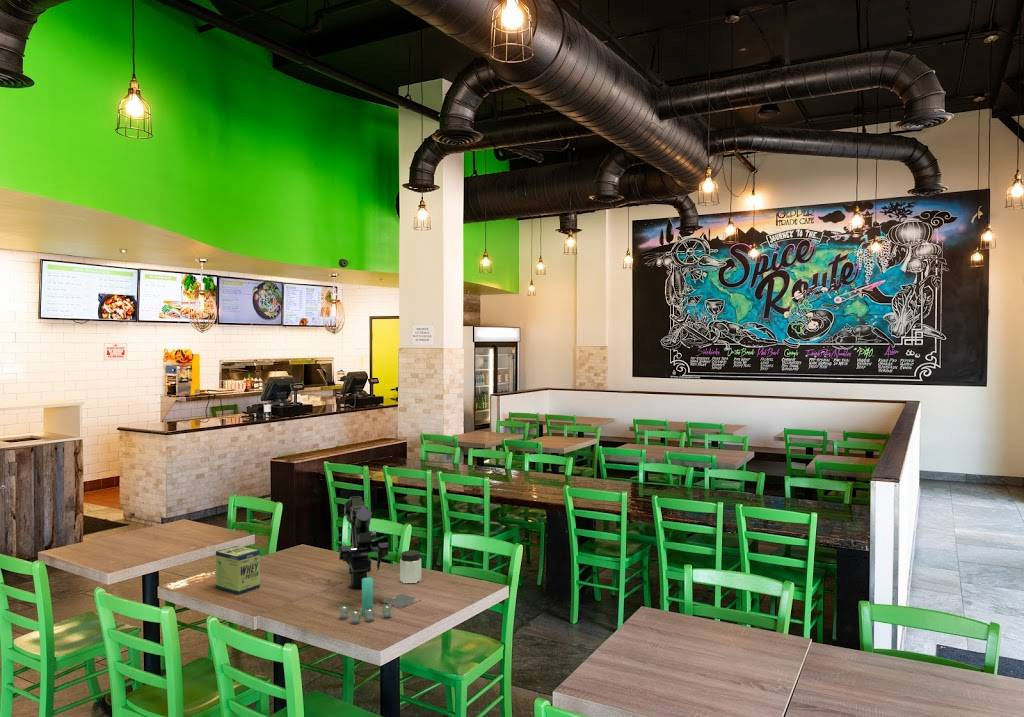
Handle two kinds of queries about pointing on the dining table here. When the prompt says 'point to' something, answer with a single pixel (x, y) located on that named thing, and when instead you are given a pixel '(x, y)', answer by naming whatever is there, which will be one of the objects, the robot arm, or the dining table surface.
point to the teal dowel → (367, 594)
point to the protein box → (237, 569)
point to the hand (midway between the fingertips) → (366, 570)
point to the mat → (400, 600)
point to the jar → (410, 566)
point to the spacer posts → (368, 613)
